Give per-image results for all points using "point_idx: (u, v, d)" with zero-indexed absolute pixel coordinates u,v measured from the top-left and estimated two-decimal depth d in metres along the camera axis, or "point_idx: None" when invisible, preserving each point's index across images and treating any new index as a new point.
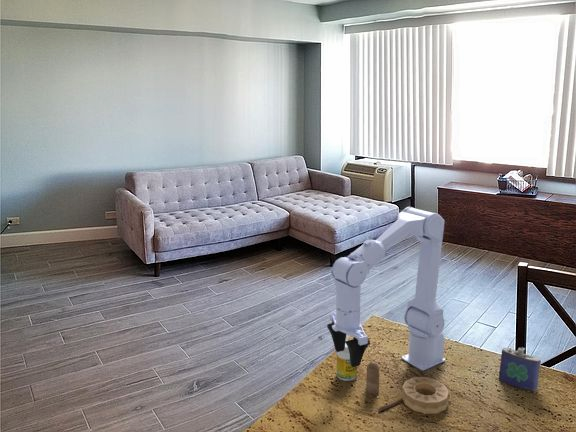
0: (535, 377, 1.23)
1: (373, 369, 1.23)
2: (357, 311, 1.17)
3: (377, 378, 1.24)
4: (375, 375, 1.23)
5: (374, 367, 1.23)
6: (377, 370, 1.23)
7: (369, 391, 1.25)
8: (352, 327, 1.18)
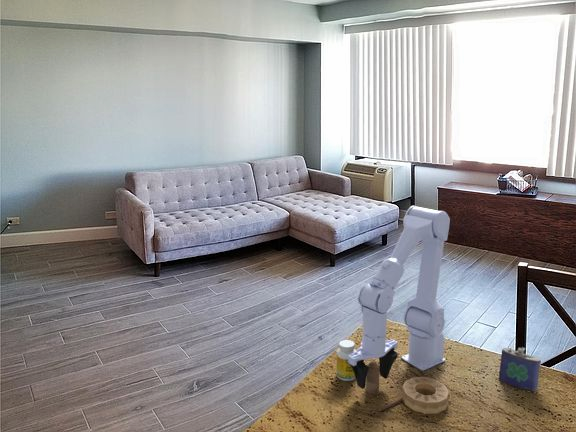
0: (535, 377, 1.23)
1: (373, 369, 1.23)
2: (368, 337, 1.20)
3: (377, 378, 1.24)
4: (375, 375, 1.23)
5: (374, 367, 1.23)
6: (377, 370, 1.23)
7: (369, 391, 1.25)
8: (363, 349, 1.22)
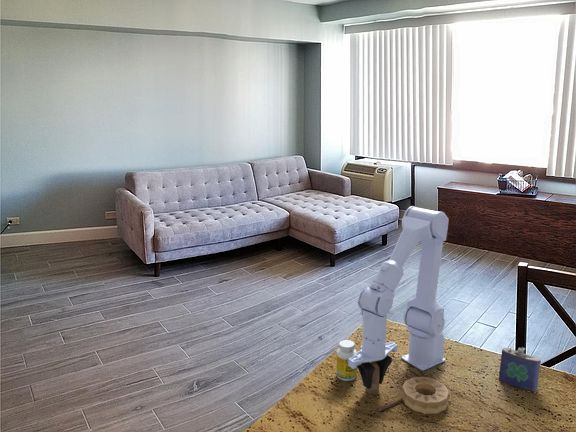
0: (535, 377, 1.23)
1: None
2: (368, 340, 1.20)
3: (377, 378, 1.24)
4: (375, 375, 1.23)
5: None
6: (377, 370, 1.23)
7: (369, 391, 1.25)
8: (363, 352, 1.22)
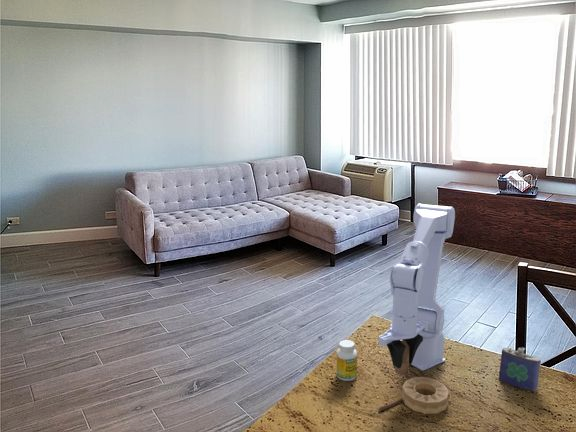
0: (535, 377, 1.23)
1: None
2: (399, 317, 1.16)
3: (407, 357, 1.20)
4: (405, 354, 1.20)
5: None
6: (407, 349, 1.20)
7: (399, 371, 1.21)
8: (394, 330, 1.18)
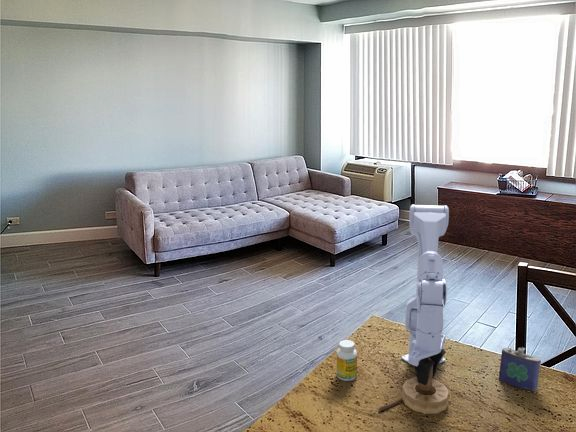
0: (535, 377, 1.23)
1: None
2: (427, 334, 1.15)
3: (432, 372, 1.20)
4: (431, 370, 1.19)
5: None
6: None
7: (424, 388, 1.20)
8: (420, 347, 1.17)
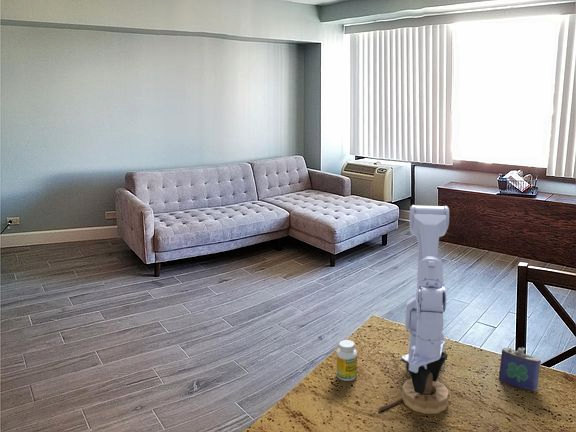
0: (535, 377, 1.23)
1: (428, 377, 1.19)
2: (427, 341, 1.16)
3: (431, 385, 1.21)
4: (430, 383, 1.20)
5: None
6: (432, 377, 1.20)
7: None
8: (420, 354, 1.17)
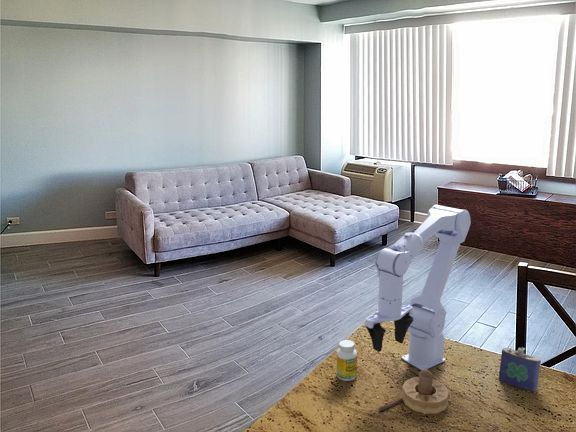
0: (535, 377, 1.23)
1: (429, 377, 1.19)
2: (385, 300, 1.22)
3: (431, 385, 1.21)
4: (430, 383, 1.20)
5: (429, 375, 1.20)
6: (432, 377, 1.20)
7: None
8: (380, 313, 1.24)
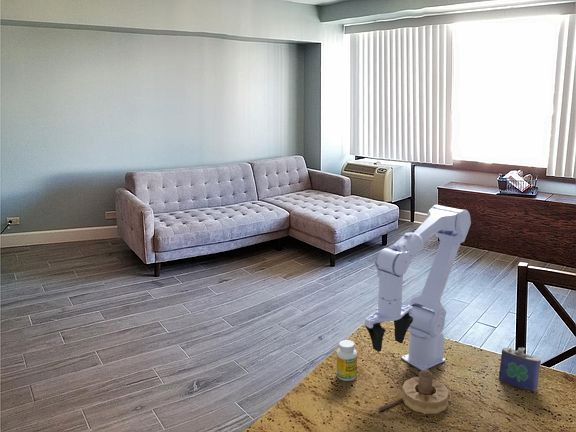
0: (535, 377, 1.23)
1: (428, 377, 1.19)
2: (385, 300, 1.22)
3: (431, 386, 1.21)
4: (430, 383, 1.20)
5: (428, 375, 1.20)
6: (432, 377, 1.20)
7: None
8: (380, 312, 1.24)
